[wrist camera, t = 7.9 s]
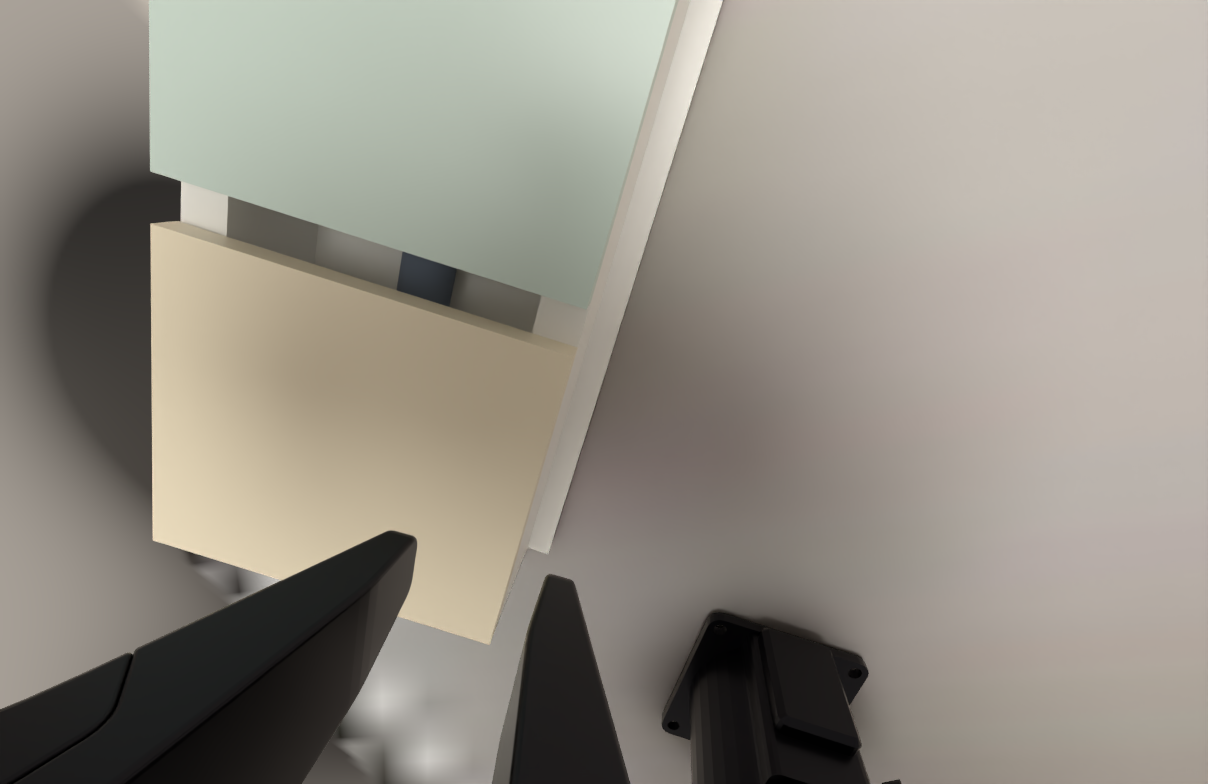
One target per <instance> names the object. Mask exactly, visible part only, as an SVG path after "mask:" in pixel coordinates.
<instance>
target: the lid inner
mask: <svg viewBox="0 0 1208 784" xmlns="http://www.w3.org/2000/svg"><path fill="white" fill-rule="evenodd" d="M151 335H152V336H151V349H152V485H153V488H152V491H153V540H154V541H157V542H160V543H164V544H167V545H170V546H173V547H176V548H180V549H183V550H186V551H189V552H192V553H196V554H199V555H202V556H205V557H208V558H212V559H215V560H218V561H221V562H224V563H228V564H231V565H234V566H237V567H241V568H244V569H247V570H250V571H253V572H257V573H260V574H263V575H266V576H269V577H273V578H276V579H279V580H283V579H286V578H288V577H290V576H292V575H294V574H296V573H298V572H301V571H303V570H305V569H307V568H309V567H311V566H313V565H315V564H318V563H320V562H322V561H324V560H326V559H328V558H330V557H332V556H335V555H337V554H339V553H341V552H343V551H345V550H347V549H350V548H352V547H354V546H356V545H358V544H360V543H362V542H364V541H367V540H369V539H371V538H373V537H375V536H377V535H379V534H382V533H384V532H386V531H389V530H395V531H398V532H402V533H405V534H409V535H413V536H414V537H415V538H416V539H417V552H416V558H415V565H414V572H413V579H412V584H411V587H410V590H409V593H408V595H407V598H406V600H405V602H404V604H403V606H402V608H401V610H400V612H399V614H398V617H401V618H404V619H408V620H411V621H414V622H417V623H421V624H424V625H427V626H430V627H433V628H437V629H440V630H443V631H446V632H449V633H453V634H456V635H459V636H462V637H466V638H469V639H472V640H475V641H478V642H482V643H485V644H488V645H490V643H491V640H492V637H493V635H494V632H495V629H496V627H497V624H498V620H499V617H500V613H501V610H502V606H503V603H504V600H505V596H506V593H507V589H508V586H509V582H510V579H511V575H512V572H513V569H514V565H515V562H516V558H517V555H518V551H519V548H520V545H521V541H522V538H523V534H524V531H525V527H526V524H527V521H528V517H529V514H530V510H531V507H532V503H533V500H534V496H535V493H536V490H537V486H538V483H539V479H540V476H541V472H542V469H543V466H544V462H545V459H546V455H547V452H548V448H549V445H550V441H551V438H552V435H553V431H554V428H555V424H556V421H557V417H558V414H559V411H560V407H561V404H562V400H563V397H564V393H565V390H566V386H567V383H568V380H569V376H570V373H571V369H572V366H573V362H574V359H575V356H576V352H577V349H578V348H577V347H574V346H571V345H568V344H565V343H561V342H558V341H555V340H552V339H549V338H546V337H543V336H540V335H536V334H533V333H530V332H527V331H524V330H521V329H517V328H514V327H511V326H508V325H505V324H502V323H498V322H495V321H492V320H489V319H486V318H483V317H479V316H476V315H473V314H470V313H467V312H464V311H461V310H457V309H454V308H451V307H448V306H445V305H442V304H438V303H435V302H432V301H429V300H426V299H423V298H419V297H416V296H413V295H410V294H407V293H404V292H400V291H397V290H394V289H391V288H388V287H385V286H381V285H378V284H375V283H372V282H369V281H366V280H362V279H359V278H356V277H353V276H350V275H347V274H343V273H340V272H337V271H334V270H331V269H328V268H324V267H321V266H318V265H315V264H312V263H309V262H305V261H302V260H299V259H296V258H293V257H290V256H287V255H283V254H280V253H277V252H274V251H271V250H268V249H264V248H261V247H258V246H255V245H252V244H249V243H245V242H242V241H239V240H236V239H233V238H230V237H226V236H223V235H220V234H217V233H214V232H211V231H207V230H204V229H201V228H198V227H195V226H192V225H188V224H185V223H182V222H179V221H174V222H163V223H152V224H151Z"/></svg>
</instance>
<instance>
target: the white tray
mask: <svg viewBox="0 0 1208 784" xmlns="http://www.w3.org/2000/svg"><path fill="white" fill-rule="evenodd" d="M722 3H723V0H679V1H678V5H677V8H676V11H675V15H674V18H673V22H672V25H671V29H670V32H669V35H668V39H667V42H666V46H665V49H664V53H663V56H662V60H661V63H660V66H659V70H658V73H657V77H656V80H655V84H654V87H653V90H652V94H651V97H650V101H649V104H648V108H647V111H646V115H645V118H644V121H643V125H642V128H641V132H640V135H639V139H638V142H637V145H636V149H635V152H634V156H633V159H632V163H631V166H630V170H629V173H628V176H627V180H626V183H625V187H624V190H623V194H622V197H621V200H620V204H619V207H618V211H617V214H616V218H615V221H614V225H613V228H612V231H611V235H610V238H609V242H608V245H607V249H606V252H605V256H604V259H603V262H602V266H601V269H600V273H599V276H598V280H597V283H596V286H595V290H594V293H593V297H592V300H591V303H590V305H589V306H588V308H587V310H586V309H583V308H579V307H576V306H573V305H570V304H567V303H564V302H561V301H557V300H554V299H551V298H548V297H545V296H542V295H539V294H535V293H532V292H529V291H526V290H523V289H520V288H516V287H513V286H510V285H507V284H504V283H501V282H498V281H494V280H491V279H488V278H485V277H482V276H479V275H476V274H472V273H469V272H466V271H463V270H460V269H457V271H456V276H455V281H454V286H453V291H452V296H451V301H450V306H449V307H451V308H454V309H457V310H461V311H464V312H467V313H470V314H473V315H476V316H479V317H483V318H486V319H489V320H492V321H495V322H498V323H502V324H505V325H508V326H511V327H514V328H517V329H521V330H524V331H527V332H530V333H533V334H536V335H540V336H543V337H546V338H549V339H552V340H555V341H558V342H561V343H565V344H568V345H571V346H574V347H577V348H578V349H577V352H576V356H575V359H574V362H573V366H572V369H571V373H570V376H569V380H568V383H567V386H566V390H565V393H564V397H563V400H562V404H561V407H560V411H559V414H558V417H557V421H556V424H555V428H554V431H553V435H552V438H551V441H550V445H549V448H548V452H547V455H546V459H545V462H544V466H543V469H542V472H541V476H540V479H539V483H538V486H537V490H536V493H535V496H534V500H533V503H532V507H531V510H530V514H529V517H528V521H527V524H526V527H525V531H524V534H523V538H522V541H521V545H520V548H519V551H518V555H517V558H516V562H515V565H514V569H513V572H512V575H511V579H510V582H509V586H508V589H507V593H506V596H505V600H504V603H503V606H502V610H501V613H500V616H501V614H502V611H503V609H504V606H505V604H506V601H507V599H508V596H509V594H510V591H511V589H512V586H513V583H514V581H515V578H516V576H517V573H518V571H519V568H520V566H521V563H522V561H523V558H524V556H525V553H526V550H527V548H530V549H533V550H536V551H539V552H542V553H545V554H548V553H549V550H550V547H551V544H552V541H553V538H554V534H555V531H556V528H557V525H558V522H559V519H560V515H561V512H562V509H563V506H564V503H565V500H566V496H567V493H568V490H569V487H570V484H571V481H572V477H573V474H574V471H575V468H576V465H577V462H578V458H579V455H580V452H581V449H582V446H583V443H584V439H585V436H586V433H587V430H588V427H589V424H590V420H591V417H592V414H593V411H594V408H595V405H596V401H597V398H598V395H599V392H600V389H601V386H602V382H603V379H604V376H605V373H606V370H607V367H608V363H609V360H610V357H611V354H612V351H613V348H614V344H615V341H616V338H617V335H618V332H619V329H620V325H621V322H622V319H623V316H624V313H625V310H626V306H627V303H628V300H629V297H630V294H631V291H632V287H633V284H634V281H635V278H636V275H637V272H638V268H639V265H640V262H641V259H642V256H643V253H644V249H645V246H646V243H647V240H648V237H649V234H650V230H651V227H652V224H653V221H654V218H655V215H656V211H657V208H658V205H659V202H660V199H661V196H662V192H663V189H664V186H665V183H666V180H667V177H668V173H669V170H670V167H671V164H672V161H673V158H674V155H675V151H676V148H677V145H678V142H679V139H680V136H681V132H682V129H683V126H684V123H685V120H686V117H687V113H688V110H689V107H690V104H691V101H692V98H693V94H694V91H695V88H696V85H697V82H698V79H699V75H700V72H701V69H702V66H703V63H704V60H705V56H706V53H707V50H708V47H709V44H710V41H711V37H712V34H713V31H714V28H715V25H716V22H717V18H718V15H719V12H720V9H721V6H722ZM181 222H182V223H185V224H188V225H192V226H195V227H198V228H201V229H204V230H207V231H211V232H214V233H217V234H220V235H223V236H226V237H230V238H233V239H236V240H239V241H242V242H245V243H249V244H252V245H255V246H258V247H261V248H264V249H268V250H271V251H274V252H277V253H280V254H283V255H287V256H290V257H293V258H296V259H299V260H302V261H305V262H309V263H312V264H315V265H318V266H321V267H324V268H328V269H331V270H334V271H337V272H340V273H343V274H347V275H350V276H353V277H356V278H359V279H362V280H366V281H369V282H372V283H375V284H378V285H381V286H385V287H388V288H391V289H394V290H397V283H398V277H399V271H400V264H401V258H402V252H403V251H400V250H397V249H394V248H390V247H387V246H384V245H381V244H378V243H375V242H372V241H368V240H365V239H362V238H359V237H356V236H353V235H350V234H346V233H343V232H340V231H337V230H334V229H331V228H327V227H324V226H321V225H318V224H315V223H312V222H309V221H305V220H302V219H299V218H296V217H293V216H290V215H287V214H283V213H280V212H277V211H274V210H271V209H268V208H264V207H261V206H258V205H255V204H252V203H249V202H246V201H242V200H239V199H236V198H233V197H230V196H227V195H224V194H220V193H217V192H214V191H211V190H208V189H205V188H201V187H198V186H195V185H192V184H189V183H186V182H183V181H181ZM499 619H500V617H499ZM498 621H499V620H498Z"/></svg>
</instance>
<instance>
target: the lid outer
mask: <svg viewBox="0 0 1208 784" xmlns="http://www.w3.org/2000/svg"><path fill="white" fill-rule="evenodd" d="M678 1H679V0H149V72H150V73H149V76H150V78H149V79H150V82H149V83H150V171H152V172H154V173H157V174H161V175H164V176H167V177H170V178H173V179H176V180H179V181H183V182H186V183H189V184H192V185H195V186H198V187H201V188H205V189H208V190H211V191H214V192H217V193H220V194H224V195H227V196H230V197H233V198H236V199H239V200H242V201H246V202H249V203H252V204H255V205H258V206H261V207H264V208H268V209H271V210H274V211H277V212H280V213H283V214H287V215H290V216H293V217H296V218H299V219H302V220H305V221H309V222H312V223H315V224H318V225H321V226H324V227H327V228H331V229H334V230H337V231H340V232H343V233H346V234H350V235H353V236H356V237H359V238H362V239H365V240H368V241H372V242H375V243H378V244H381V245H384V246H387V247H390V248H394V249H397V250H400V251H403V252H406V253H409V254H413V255H416V256H419V257H422V258H425V259H428V260H431V261H435V262H438V263H441V264H444V265H447V266H450V267H453V268H457V269H460V270H463V271H466V272H469V273H472V274H476V275H479V276H482V277H485V278H488V279H491V280H494V281H498V282H501V283H504V284H507V285H510V286H513V287H516V288H520V289H523V290H526V291H529V292H532V293H535V294H539V295H542V296H545V297H548V298H551V299H554V300H557V301H561V302H564V303H567V304H570V305H573V306H576V307H579V308H583V309H586V310H587V308H588V306H589V305H590V303H591V300H592V297H593V293H594V290H595V286H596V283H597V280H598V276H599V273H600V269H601V266H602V262H603V259H604V256H605V252H606V249H607V245H608V242H609V238H610V235H611V231H612V228H613V225H614V221H615V218H616V214H617V211H618V207H619V204H620V200H621V197H622V194H623V190H624V187H625V183H626V180H627V176H628V173H629V170H630V166H631V163H632V159H633V156H634V152H635V149H636V145H637V142H638V139H639V135H640V132H641V128H642V125H643V121H644V118H645V115H646V111H647V108H648V104H649V101H650V97H651V94H652V90H653V87H654V84H655V80H656V77H657V73H658V70H659V66H660V63H661V60H662V56H663V53H664V49H665V46H666V42H667V39H668V35H669V32H670V29H671V25H672V22H673V18H674V15H675V11H676V8H677V5H678Z"/></svg>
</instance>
